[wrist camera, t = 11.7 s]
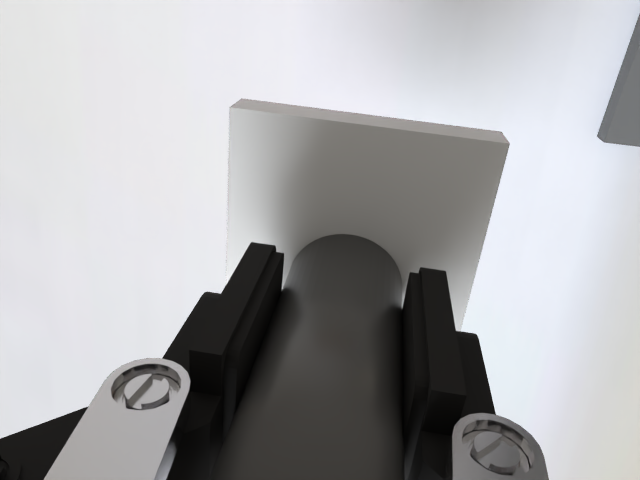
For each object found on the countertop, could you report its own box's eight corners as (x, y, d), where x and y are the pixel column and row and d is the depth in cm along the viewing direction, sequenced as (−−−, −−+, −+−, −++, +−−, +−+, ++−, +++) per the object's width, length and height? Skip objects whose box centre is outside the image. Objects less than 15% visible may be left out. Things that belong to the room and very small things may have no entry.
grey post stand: (433, 400, 15) (471, 849, 7) (233, 366, 16) (64, 755, 8) (501, 131, 12) (714, 433, 4) (241, 98, 12) (-50, 307, 4)
